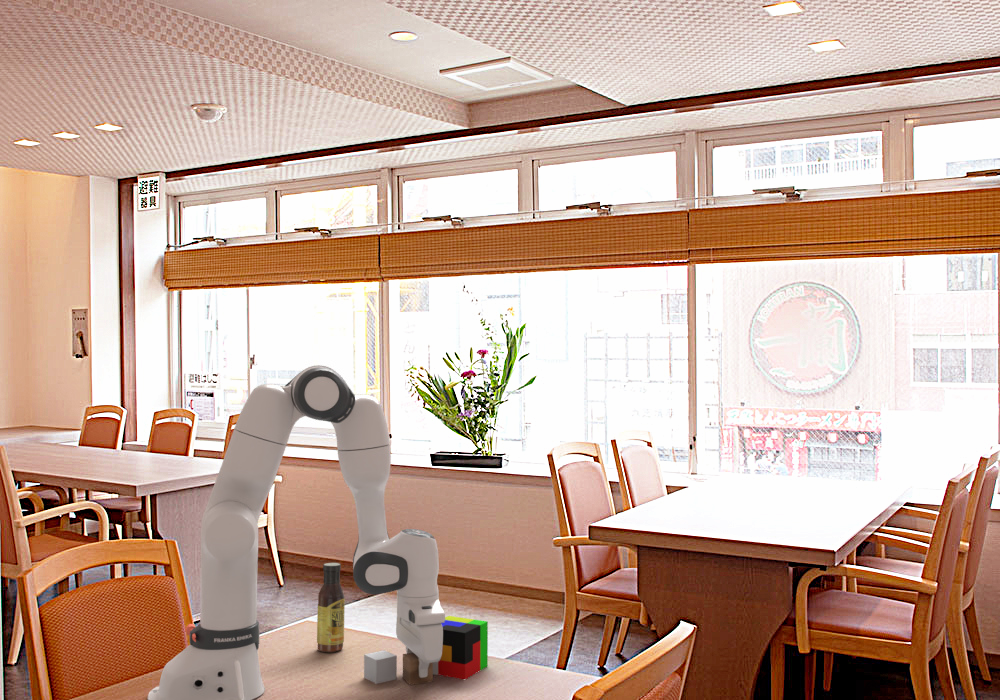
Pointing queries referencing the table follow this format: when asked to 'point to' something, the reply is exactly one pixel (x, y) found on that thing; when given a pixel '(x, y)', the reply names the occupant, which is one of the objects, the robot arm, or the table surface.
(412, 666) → the walnut block
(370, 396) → the robot arm
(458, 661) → the puzzle toy
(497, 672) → the table surface
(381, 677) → the grey block
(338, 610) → the sauce bottle
